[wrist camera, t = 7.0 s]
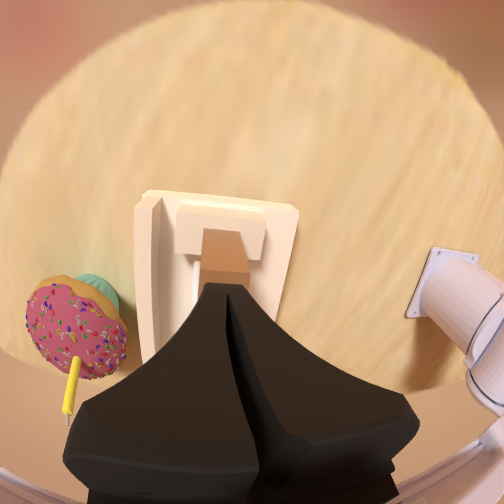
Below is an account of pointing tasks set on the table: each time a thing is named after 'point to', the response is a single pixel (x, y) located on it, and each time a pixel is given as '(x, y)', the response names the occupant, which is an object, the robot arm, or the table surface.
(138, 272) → the cream lipped block
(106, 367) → the cupcake
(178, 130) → the table surface
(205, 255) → the brown wooden bar
